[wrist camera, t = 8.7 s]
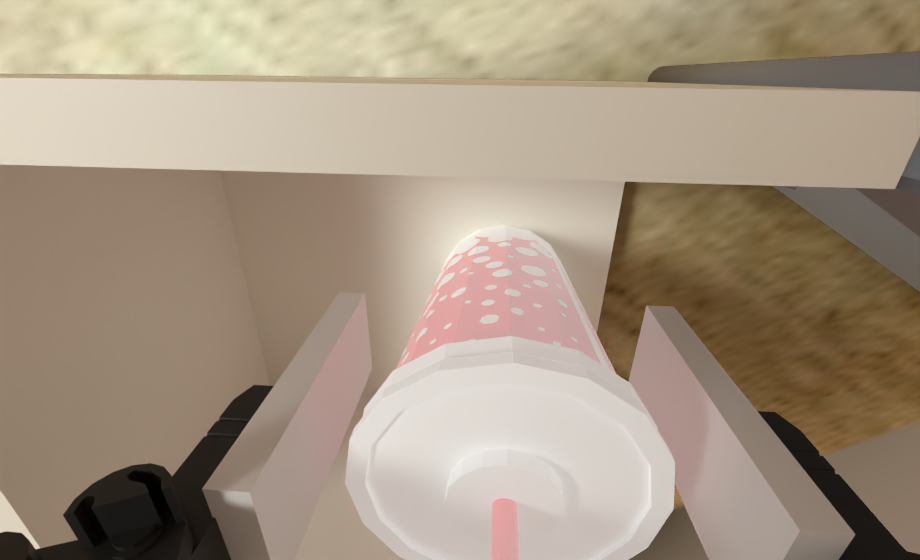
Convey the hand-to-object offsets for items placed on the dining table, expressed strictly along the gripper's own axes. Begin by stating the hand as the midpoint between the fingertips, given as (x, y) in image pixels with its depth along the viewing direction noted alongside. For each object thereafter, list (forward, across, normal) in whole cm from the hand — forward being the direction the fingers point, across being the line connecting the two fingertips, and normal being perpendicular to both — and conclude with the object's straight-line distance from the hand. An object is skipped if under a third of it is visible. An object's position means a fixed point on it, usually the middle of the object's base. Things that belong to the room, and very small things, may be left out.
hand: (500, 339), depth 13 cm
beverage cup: (+4, 0, 0) cm, 4 cm away
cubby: (+5, -4, 0) cm, 6 cm away
